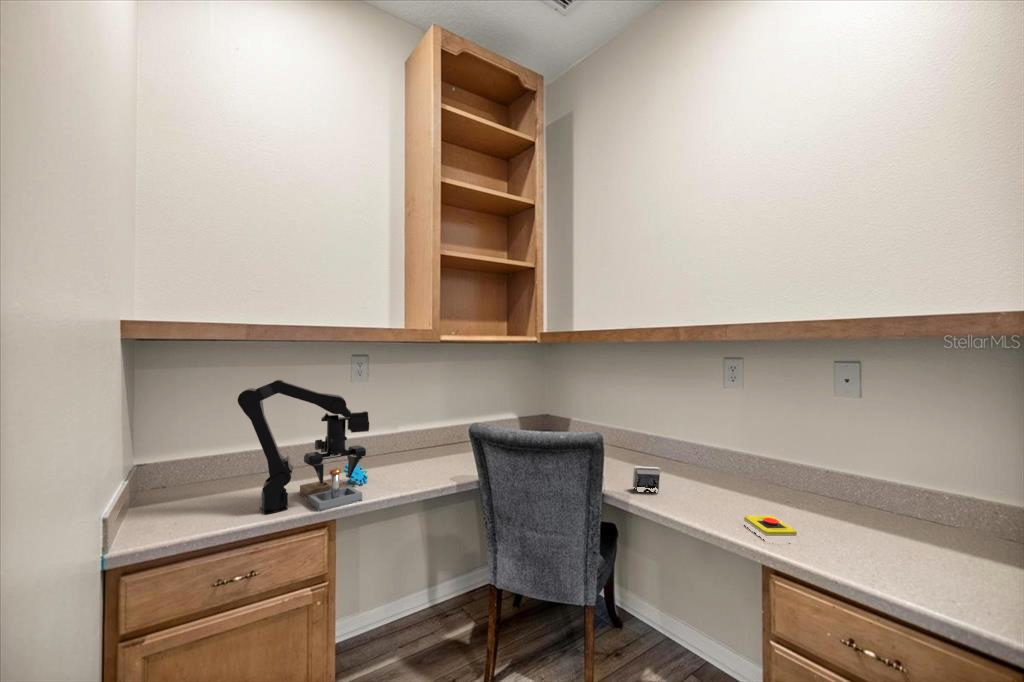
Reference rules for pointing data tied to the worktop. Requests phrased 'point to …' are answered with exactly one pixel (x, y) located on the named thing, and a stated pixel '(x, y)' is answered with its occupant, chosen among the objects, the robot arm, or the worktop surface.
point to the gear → (357, 475)
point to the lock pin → (334, 482)
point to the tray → (325, 501)
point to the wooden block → (316, 487)
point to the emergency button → (770, 526)
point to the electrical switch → (646, 477)
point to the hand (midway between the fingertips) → (335, 480)
